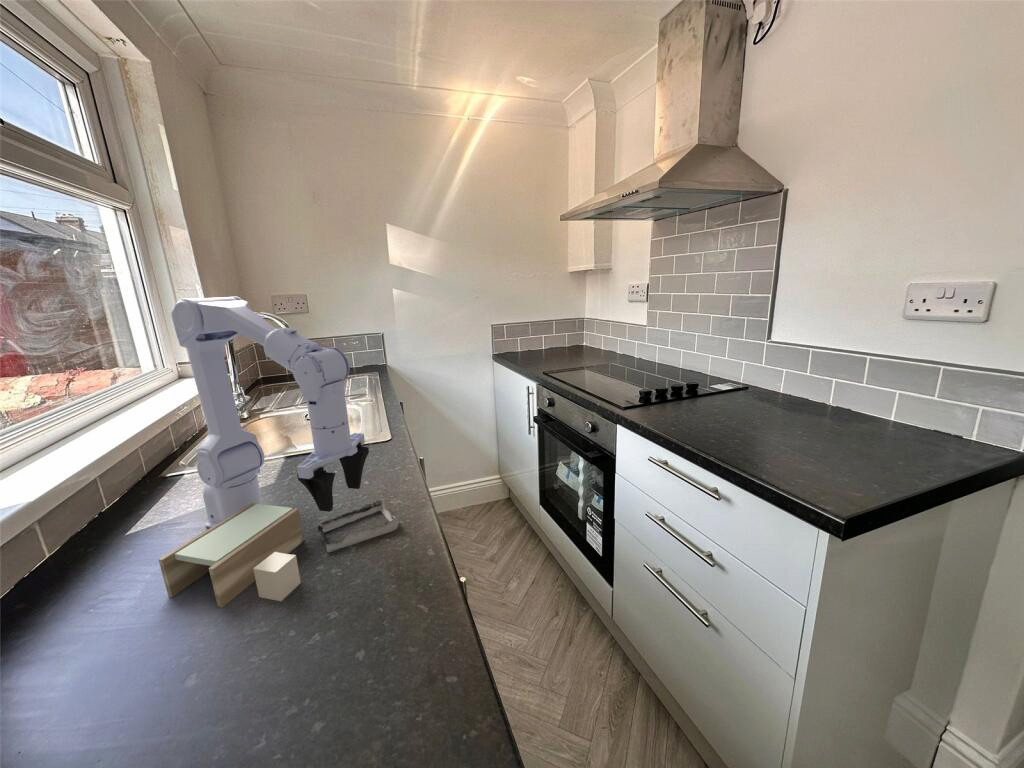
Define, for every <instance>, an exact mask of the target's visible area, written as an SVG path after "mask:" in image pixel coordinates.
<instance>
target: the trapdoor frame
mask: <svg viewBox="0 0 1024 768" xmlns="http://www.w3.org/2000/svg"><path fill="white" fill-rule="evenodd" d="M254 505H255V503H251V504H249V505H247V506H246V507H244V508H242V509H241V510H239V511H238V512H236V513H234V514H233V515H231V516H229V517H228V518H226V519H224V520H223V521H221V522H219V523H218V524H216V525H214V526H213V527H211V528H210V527H208V529H206V530H204V531H203V532H201V533H199V534H198V535H196V536H195V537H192V539H189V540H188V541H186V542H184V543H183V544H181V545H179V546H177V547H176V548H174V549H172V550H171V551H170V552H168V553H166V554H164V555H163V556H161V557H159V558H158V564H159V568H160V571H161V574H162V578H163V581H164V584H165V589H166V592H167V596H168V597H170V598H173V597H174V596H176V595H177V594H179V593H180V592H182V591H183V590H184V589H186V588H188V587H189V586H190V585H192V584H193V583H194V582H196V581H197V580H199V579H200V578H202V577H203V576H204V575H206V574H207V573H209V575H210V581H211V583H212V589H213V592H214V596H215V600H216V604H217V607H218V608H223V607H225V606H226V605H227V604H229V603H230V602H231V601H232V600H233V599H235V598H236V597H237V596H238V595H239V594H241V593H242V592H243V591H245V590H246V589H247V588H249V586H251V585H252V584H253V583H255V582H256V579H255V574H254V570H253V568H255V567H256V566H257V565H258V564H260V563H261V562H262V561H264V560H265V559H266V558H267V557H269V556H270V555H271V554H273V553H274V552H279V553H285V554H290V553H291V552H292V551H293V550H294V549H296V548H297V547H298V546H299V545H301V544H302V543H303V542H305V539H304V534H303V527H302V522H301V516H300V509H299V508H296V507H295V508H293V510H292V511H290V512H289V513H287V514H286V515H284V516H283V517H282V518H280V519H279V520H277V521H276V522H274V523H273V524H272V525H270V526H269V527H267V528H266V529H264V530H263V531H262V532H260V533H259V534H257V535H256V536H254V537H253V538H251V539H250V540H249V541H247V542H246V543H244V544H243V545H241V546H240V547H239V548H237V549H236V550H234V551H233V552H231V553H230V554H228V555H227V556H226V557H224V558H223V559H221V560H220V561H218V562H217V563H216V564H214V565H213V566H208V565H203V564H197V563H192V562H186V561H180V560H176V557H175V553H177V552H179V551H180V550H182V549H184V548H185V547H187V546H188V545H190V544H192V543H193V542H195V541H197V540H198V539H200V538H202V537H203V536H205V535H206V534H208V533H210V532H211V531H213V530H215V529H216V528H218V527H220V526H221V525H223V524H224V523H226V522H228V521H229V520H231V519H233V518H234V517H236V516H238V515H239V514H241V513H242V512H244V511H246V510H247V509H249V508H251V507H252V506H254Z"/></svg>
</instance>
